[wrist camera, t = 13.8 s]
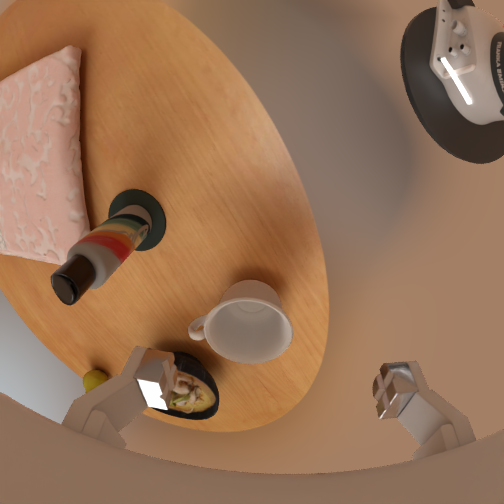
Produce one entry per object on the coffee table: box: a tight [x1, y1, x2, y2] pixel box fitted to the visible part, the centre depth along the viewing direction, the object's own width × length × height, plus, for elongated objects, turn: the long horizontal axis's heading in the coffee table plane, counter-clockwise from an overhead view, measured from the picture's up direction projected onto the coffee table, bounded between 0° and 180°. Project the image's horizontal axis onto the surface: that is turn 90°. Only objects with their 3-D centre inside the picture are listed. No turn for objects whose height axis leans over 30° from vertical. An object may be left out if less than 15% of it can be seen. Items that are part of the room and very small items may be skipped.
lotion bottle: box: [51, 205, 152, 305], centre depth 32 cm, size 6×6×20 cm
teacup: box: [188, 280, 293, 364], centre depth 42 cm, size 12×15×10 cm
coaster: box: [108, 189, 166, 251], centre depth 42 cm, size 10×10×1 cm
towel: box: [0, 45, 91, 265], centre depth 35 cm, size 36×34×6 cm
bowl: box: [151, 352, 219, 420], centre depth 51 cm, size 17×17×10 cm
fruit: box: [83, 370, 109, 393], centre depth 54 cm, size 7×7×12 cm
